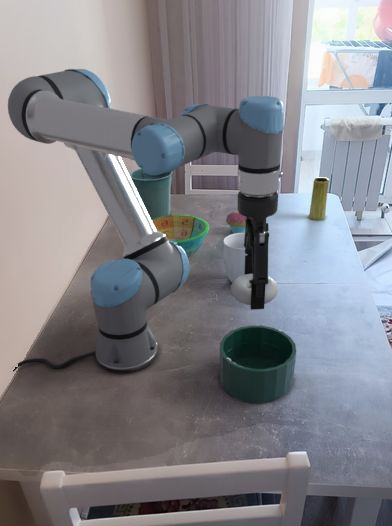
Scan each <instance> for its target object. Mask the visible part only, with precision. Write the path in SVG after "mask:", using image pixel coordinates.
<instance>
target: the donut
mask: <svg viewBox="0 0 392 526" xmlns="http://www.w3.org/2000/svg"><path fill="white" fill-rule="evenodd" d="M252 279H253V274H246V275H242V276H240V277H238V278H237V279H235V280H234V282H233V283H232V282H231V285H230V293H231V296H232V297H233V298H234V300H236V301H237V302H238V303H240V304H243V305H247V306H251V283H249V280H252ZM278 292H279V287H278V284H277V282H276V280H274V279H273V278H272V277H270V276H269V275H268V284H266V286H265V303H264V305H266V304H268V303H271V302H272V301H273V300H274V299H275V298H276V297H277V295H278V294H279V293H278Z"/></svg>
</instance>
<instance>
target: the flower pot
mask: <svg viewBox="0 0 392 526" xmlns="http://www.w3.org/2000/svg"><path fill="white" fill-rule="evenodd" d="M173 171H174V170H173ZM173 171H171V172H168V173H162V174H159V175H150V174H147V173H145V172H144V170H143V169H142V168H138V169H135V170H133V171H131V172H130V173H129V176H130V178H131V180H132V182H133V184H134V186H135V188H136V190H137V192H138V194H139V196H140V198H141V200H142V202H143V204H144V206H145V208H146V210H147V212H148V214H149V216H150V218H151V220H152V219H155V218H158V217H162V216H168V215H171V184H172V175H173V173H174V172H173Z"/></svg>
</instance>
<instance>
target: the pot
mask: <svg viewBox="0 0 392 526" xmlns="http://www.w3.org/2000/svg"><path fill="white" fill-rule="evenodd" d="M296 357H297V346H296V343H295V342H294V340H293V339H292V337H291V336H289V335H288V334H287V333H285V332H284V331H283V330H280V329H277V328H275V327H272V326H266V325H247V326H241V327H238V328H235V329H232V330H230V331H229V332H228V333H226V334H225V335H223V337H222V339H221V340H220V343H219V381H220V384H221V386H222V388H223V389H224V391H225V392H226V393H228V395H230V396H232V397H233V398H235V399H237V400H240V401H243V402H247V403H254V404H263V403H269V402H273V401H274V402H275V401H277V400H279V399H281V398H283V397H284V396H285V395H286V394H287V393H288V392H289V391H290V390H291V388H292V386H293V381H294V376H295V367H296Z"/></svg>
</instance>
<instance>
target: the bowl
mask: <svg viewBox="0 0 392 526" xmlns="http://www.w3.org/2000/svg"><path fill="white" fill-rule="evenodd" d="M151 220H152V222H153V224H154V226H155V229H156V230H157V231H158V232H161V233H164V234H165V235H166V237H167V239H168V241H173V242H175V243H177V245H178V246H181V247H182V248H183V250H184V251H185V253H186V255H187V258H188V257H191V256H193V254H195V253H196V252H197V251H198V250H200V248H201V247H202V245H203V243H204V241H205V239H206V238H207V234H208V233H209V231H210V225H209V222H208V221H206V220H204V219H203V218H201V217H198V216H194V215H189V214H169V215H168V216H162V217H158V218H155V219H151Z"/></svg>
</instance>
